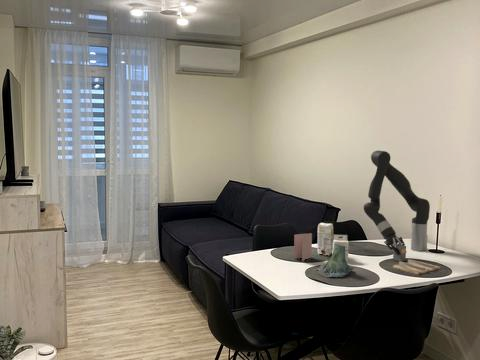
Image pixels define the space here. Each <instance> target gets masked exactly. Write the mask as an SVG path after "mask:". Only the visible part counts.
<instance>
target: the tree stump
mask: <svg viewBox="0 0 480 360" xmlns="http://www.w3.org/2000/svg"><path fill="white" fill-rule="evenodd" d="M317 270H319V271H320V270H321V272H324V273H327V274H328V275H330V276H331V277H342V276H344V277H346V276H348V275H349V274H350V273H351V272H352V271H353V270H354V268H353V266H352V265H349V264H348V261H346V259H345V246H342V245H339V244H334V250H333V251H332V254H331V257H330V258H328V259H327V261H326V262H325V263H324V264H321V265H320V266H319V267H318V268H317ZM317 272H318V271H317ZM318 274H320V273H318ZM345 275H346V276H345ZM342 278H343V277H342Z"/></svg>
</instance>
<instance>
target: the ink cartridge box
mask: <svg viewBox="0 0 480 360" xmlns="http://www.w3.org/2000/svg"><path fill="white" fill-rule="evenodd" d="M349 243H350V242H349V240H348V234H333V250H334V244H339V245H342V246H345V259H346V262H349Z"/></svg>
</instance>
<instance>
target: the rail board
mask: <svg viewBox="0 0 480 360" xmlns="http://www.w3.org/2000/svg"><path fill="white" fill-rule="evenodd" d="M392 268H394V269H396V268H397V270H399V269H400V271H403V272H407V273H409V274H413V275H417V276H418V275H421V274H425V273H428V272H433V271H436V270H440V269H441V266H438V265H434V264H431V263H426V262H424V261H419V260H414V259H410V258H409V259H407V262H404V261H398V264H394V265H392Z"/></svg>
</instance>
